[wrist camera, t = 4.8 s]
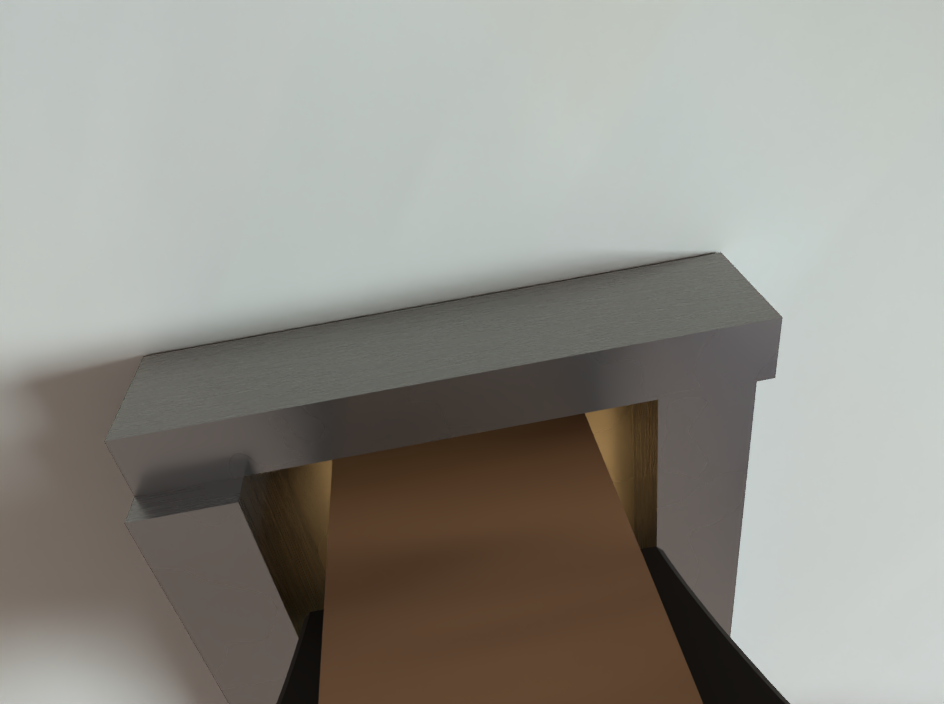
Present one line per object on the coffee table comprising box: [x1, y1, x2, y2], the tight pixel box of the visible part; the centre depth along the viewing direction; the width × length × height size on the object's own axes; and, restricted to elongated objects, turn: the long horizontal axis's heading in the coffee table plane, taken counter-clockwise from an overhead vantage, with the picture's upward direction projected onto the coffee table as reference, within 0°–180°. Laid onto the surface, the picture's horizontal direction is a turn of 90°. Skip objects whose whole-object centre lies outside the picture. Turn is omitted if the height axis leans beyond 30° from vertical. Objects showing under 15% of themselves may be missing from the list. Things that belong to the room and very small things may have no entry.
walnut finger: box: [318, 413, 703, 704], centre depth 11 cm, size 5×4×6 cm
